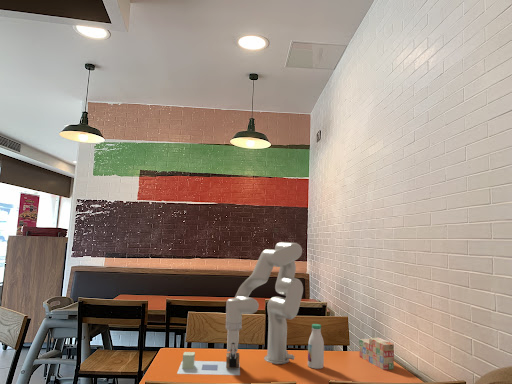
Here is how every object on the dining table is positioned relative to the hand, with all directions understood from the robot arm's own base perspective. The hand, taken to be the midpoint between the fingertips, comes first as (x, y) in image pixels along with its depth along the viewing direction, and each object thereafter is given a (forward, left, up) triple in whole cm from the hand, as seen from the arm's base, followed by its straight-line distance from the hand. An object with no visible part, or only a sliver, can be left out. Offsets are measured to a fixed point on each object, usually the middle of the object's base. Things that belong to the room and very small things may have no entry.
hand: (232, 364), depth 183 cm
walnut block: (0, 0, -1) cm, 1 cm away
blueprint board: (+10, +4, -2) cm, 11 cm away
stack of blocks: (-65, -39, -2) cm, 76 cm away
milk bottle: (-36, -20, -2) cm, 41 cm away
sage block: (+19, +7, -1) cm, 21 cm away
